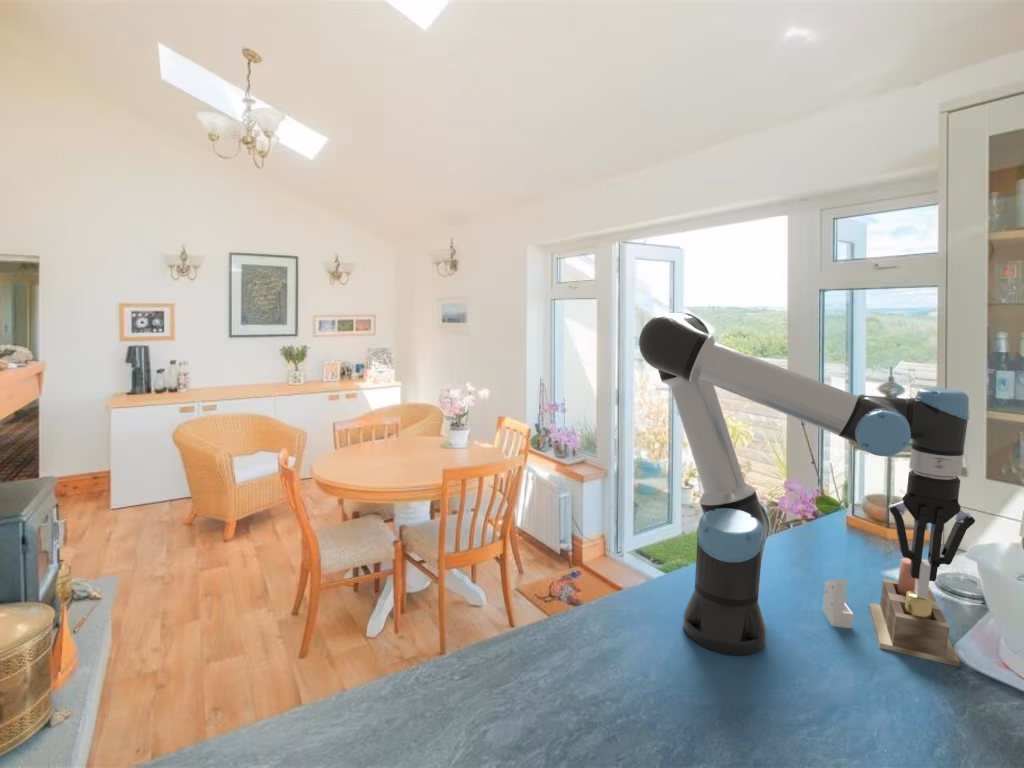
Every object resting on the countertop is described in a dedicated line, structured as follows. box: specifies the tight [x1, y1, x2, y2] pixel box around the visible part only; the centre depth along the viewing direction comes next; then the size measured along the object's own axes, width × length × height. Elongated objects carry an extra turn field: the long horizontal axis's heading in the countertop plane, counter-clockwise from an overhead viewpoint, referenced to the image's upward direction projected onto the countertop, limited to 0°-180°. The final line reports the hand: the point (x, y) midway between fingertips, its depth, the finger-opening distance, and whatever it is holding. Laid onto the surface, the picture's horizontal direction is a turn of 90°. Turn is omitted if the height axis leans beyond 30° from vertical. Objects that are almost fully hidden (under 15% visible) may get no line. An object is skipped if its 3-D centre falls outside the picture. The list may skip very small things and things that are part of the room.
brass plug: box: [904, 591, 933, 619], centre depth 105 cm, size 4×4×8 cm
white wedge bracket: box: [821, 579, 854, 629], centre depth 113 cm, size 4×10×9 cm, turn 169°
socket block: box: [868, 578, 960, 667], centre depth 108 cm, size 12×16×7 cm
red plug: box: [897, 557, 916, 596], centre depth 111 cm, size 4×4×8 cm
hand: (920, 594), depth 104 cm, fingers closed
